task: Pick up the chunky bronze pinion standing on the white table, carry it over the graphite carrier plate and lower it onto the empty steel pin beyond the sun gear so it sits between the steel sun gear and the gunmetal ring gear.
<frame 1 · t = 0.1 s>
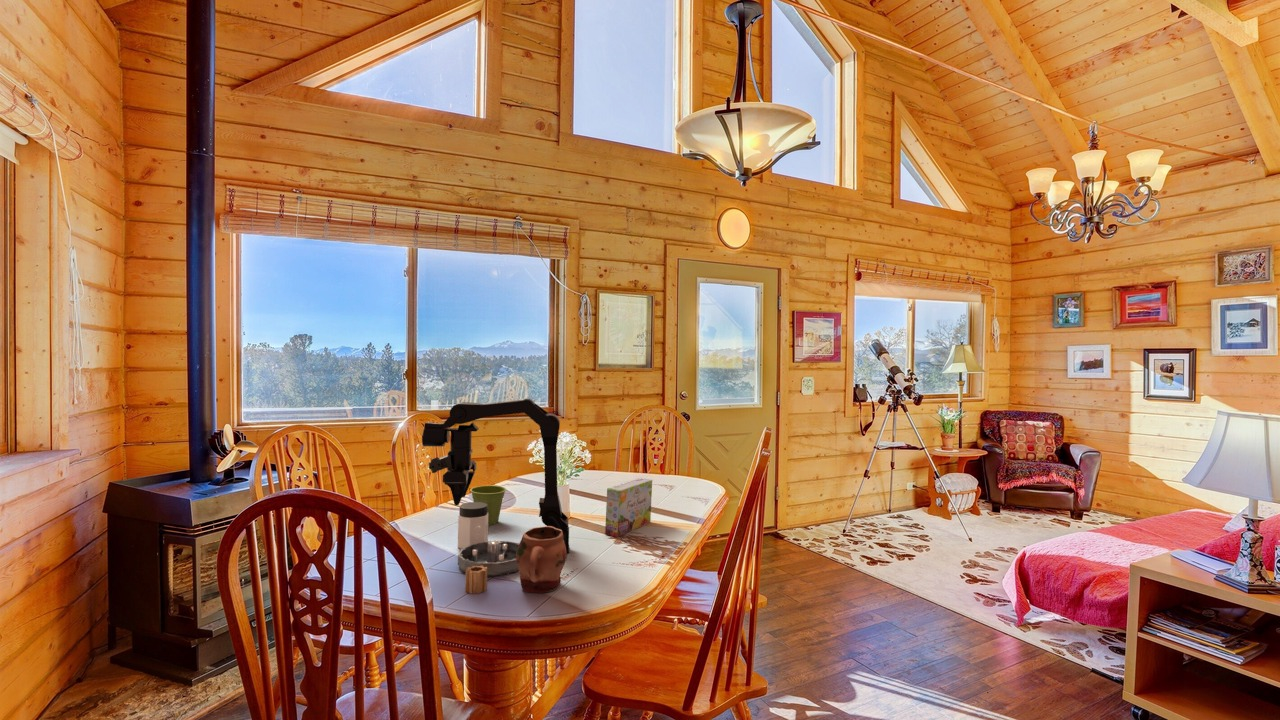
hand: (459, 501, 170), 15 cm above the table, fingers open, 9 cm apart
bronze pinion: (476, 589, 143), on the table
carrier: (493, 564, 160), on the table
plant pot: (487, 523, 199), on the table
terracotta mug: (540, 589, 145), on the table
jar: (472, 546, 175), on the table
snack box: (629, 529, 197), on the table
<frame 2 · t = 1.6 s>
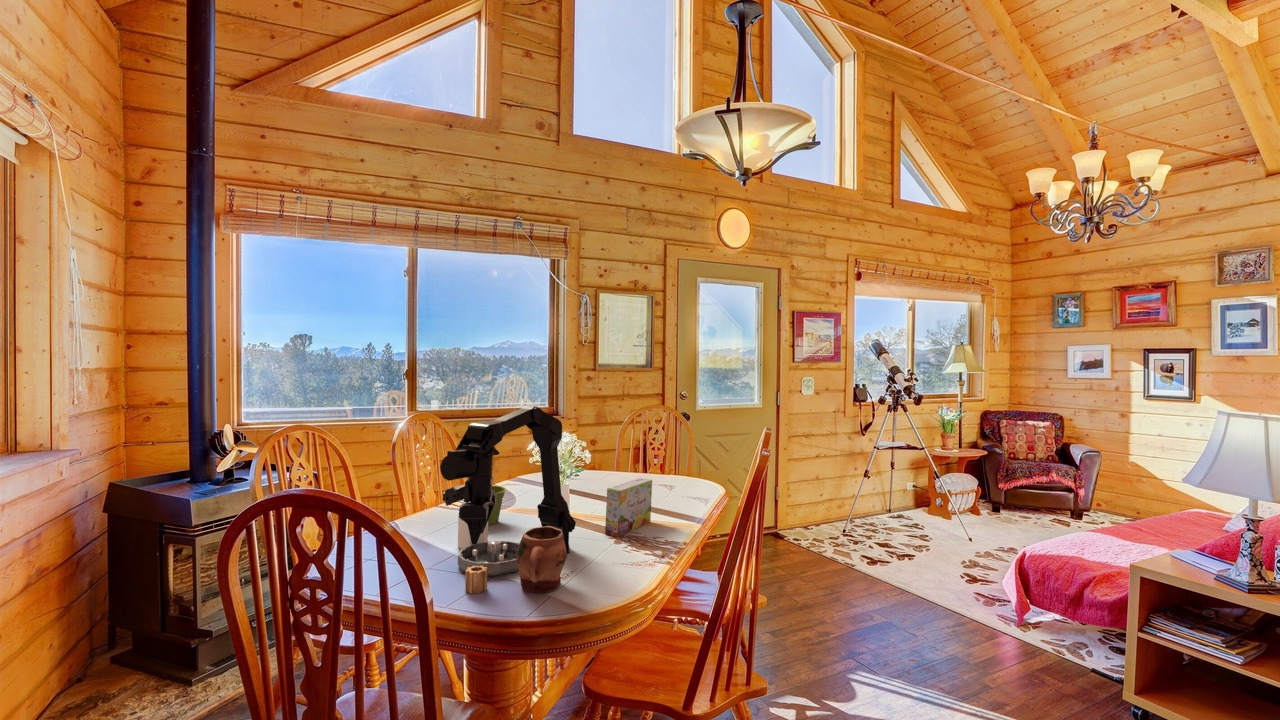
hand: (477, 538, 145), 12 cm above the table, fingers open, 9 cm apart
nothing on the table moved.
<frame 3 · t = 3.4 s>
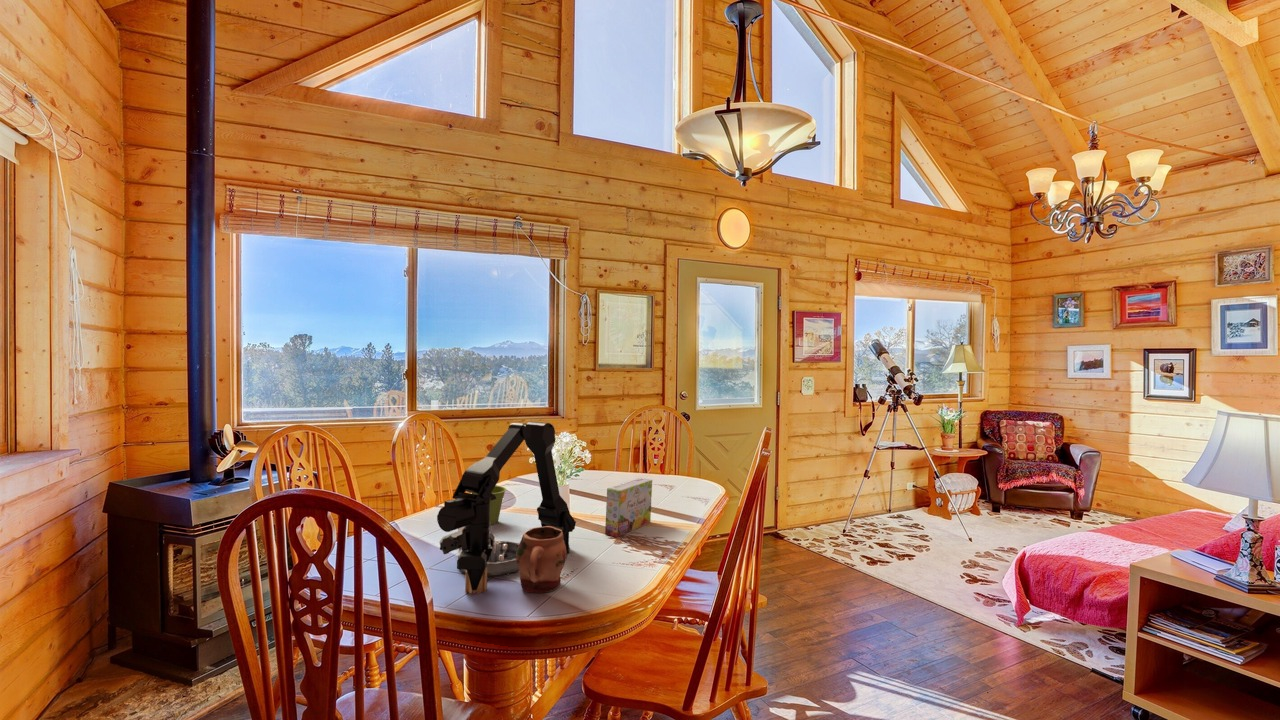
hand: (476, 585, 143), 1 cm above the table, fingers closed on bronze pinion, 5 cm apart
bronze pinion: (476, 589, 143), on the table, touching gripper
everything else where it was.
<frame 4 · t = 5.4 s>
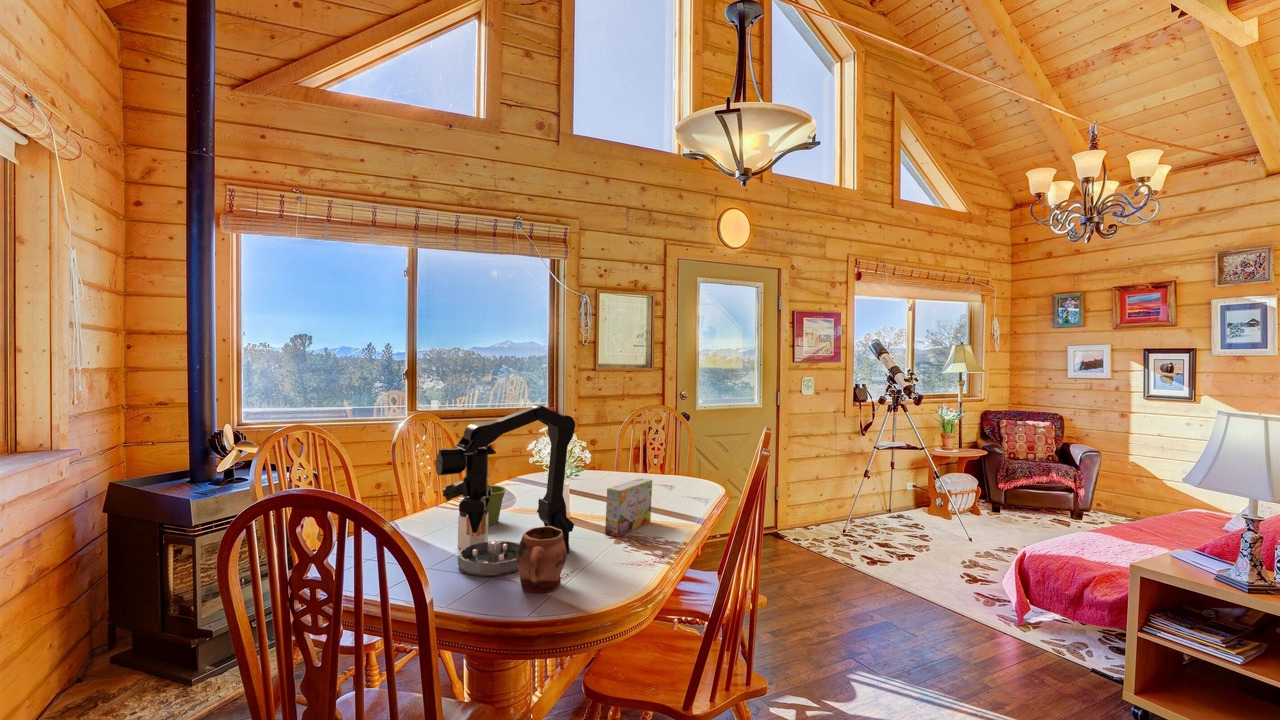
hand: (476, 529, 159), 10 cm above the table, fingers closed on bronze pinion, 5 cm apart
bronze pinion: (475, 533, 159), point 9 cm above the table, touching gripper
everything else where it was.
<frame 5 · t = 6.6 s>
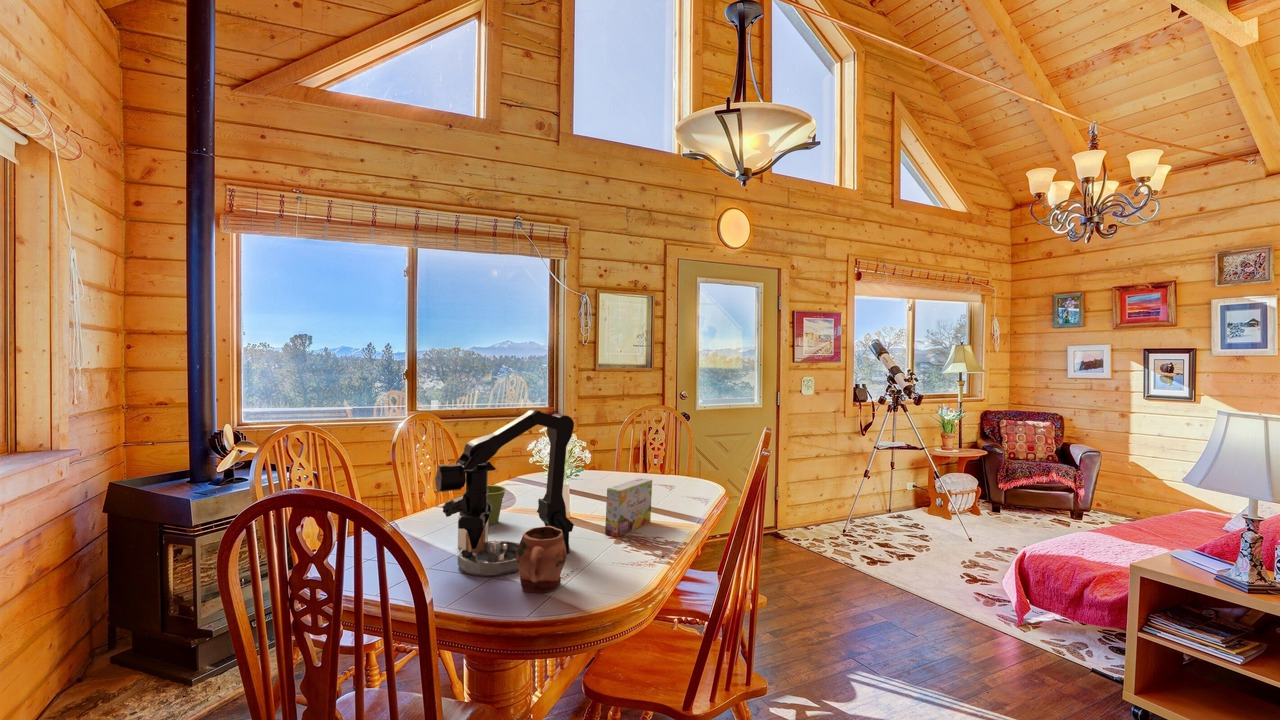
hand: (475, 545, 160), 5 cm above the table, fingers closed on bronze pinion, 5 cm apart
bronze pinion: (475, 549, 160), point 4 cm above the table, touching gripper
everything else where it was.
when the fingers open (3 cm above the table, at t = 7.5 s): bronze pinion drops 1 cm, resting on carrier.
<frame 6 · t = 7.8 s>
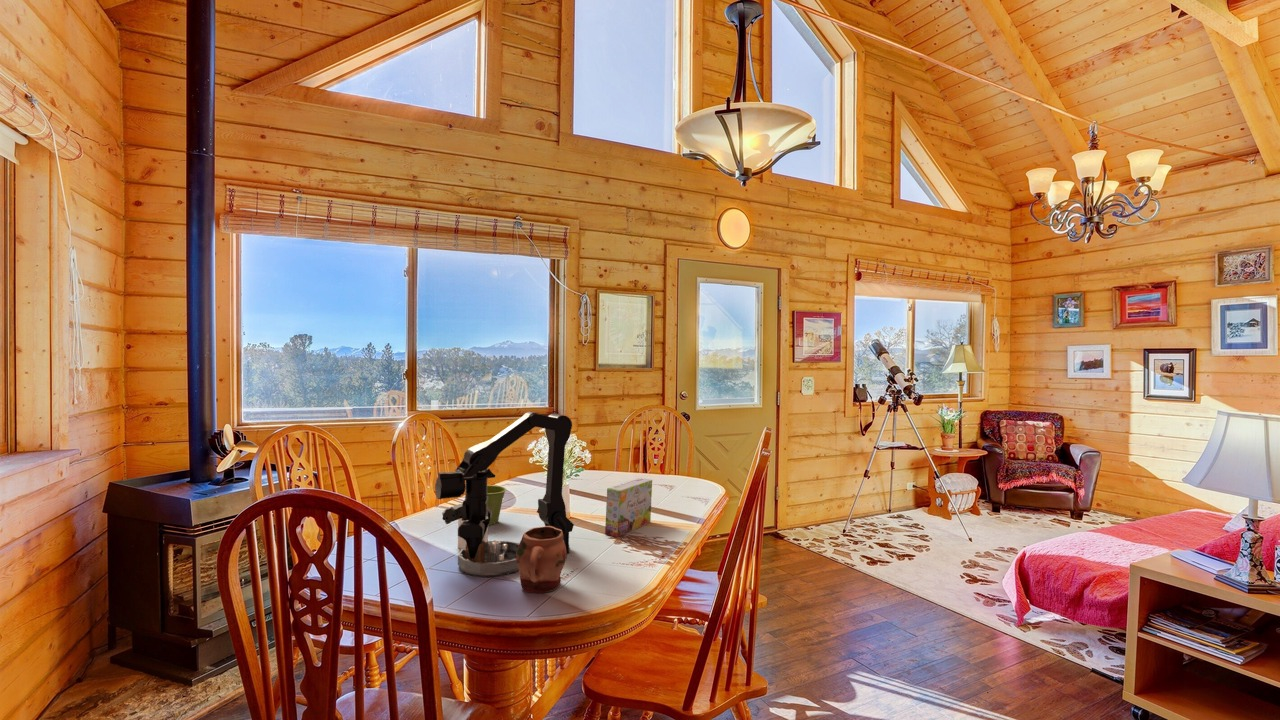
hand: (475, 552, 160), 3 cm above the table, fingers open, 8 cm apart
bronze pinion: (474, 561, 160), point 1 cm above the table, touching carrier
everything else where it was.
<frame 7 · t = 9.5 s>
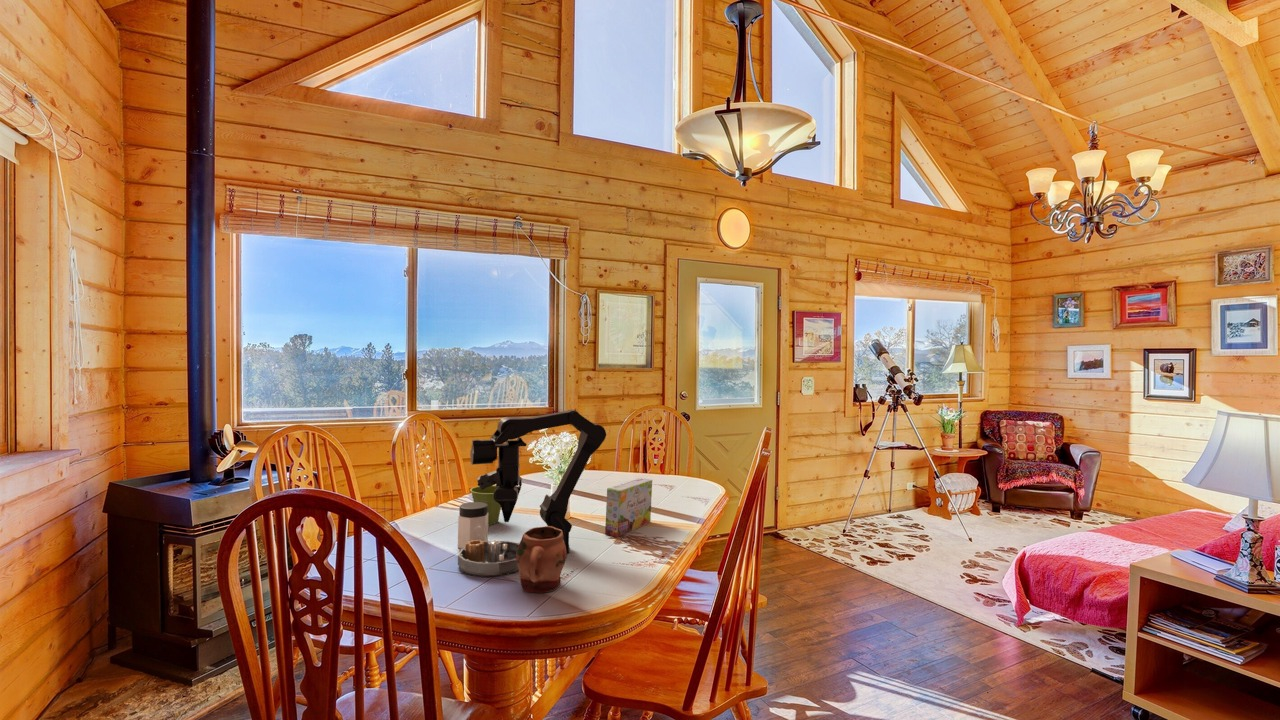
hand: (508, 517, 167), 11 cm above the table, fingers open, 9 cm apart
nothing on the table moved.
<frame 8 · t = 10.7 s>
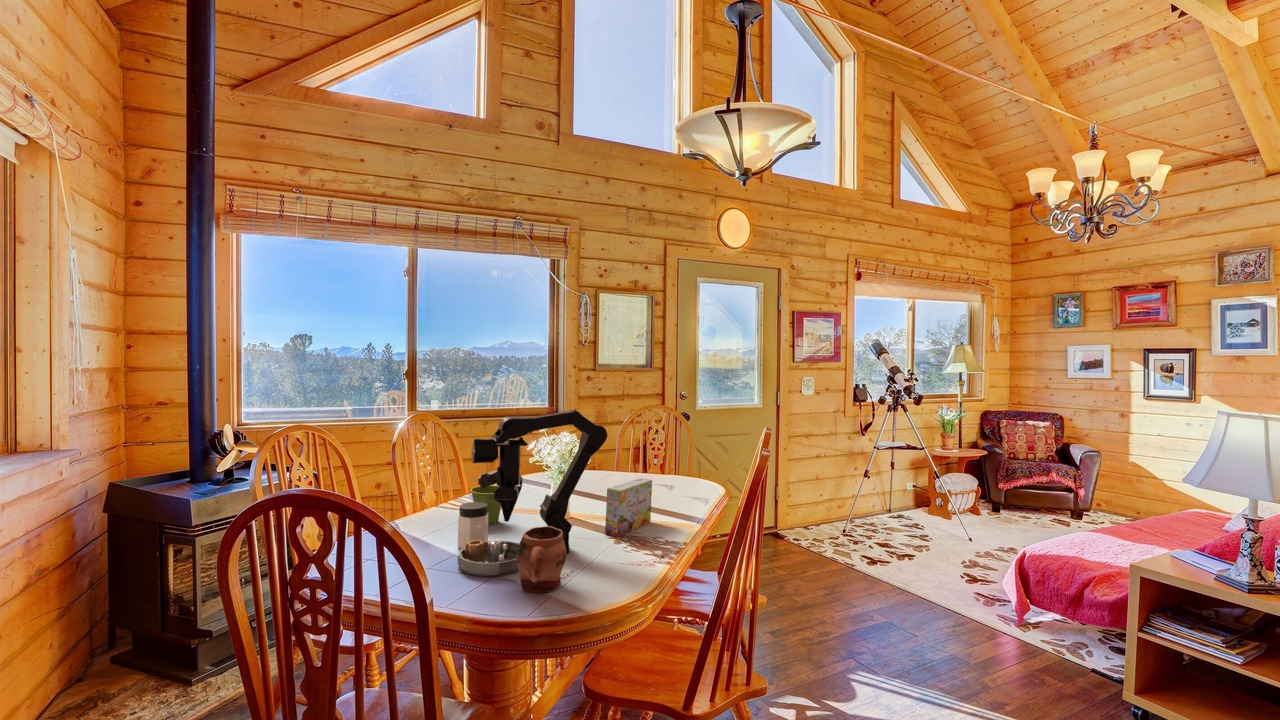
hand: (508, 516, 168), 11 cm above the table, fingers open, 9 cm apart
nothing on the table moved.
at the end: bronze pinion 0.0 cm from the target spot on the carrier, point 1.0 cm above the carrier's base; bronze pinion tilted 0°; the gripper is holding nothing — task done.
